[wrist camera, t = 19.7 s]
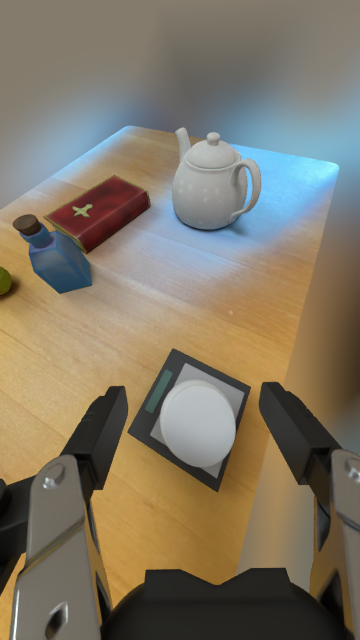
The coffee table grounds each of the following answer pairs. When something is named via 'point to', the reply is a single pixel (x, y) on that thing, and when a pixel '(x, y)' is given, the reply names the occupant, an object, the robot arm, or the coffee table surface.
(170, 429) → the pill bottle
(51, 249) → the perfume bottle
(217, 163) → the teapot
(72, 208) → the hardcover book
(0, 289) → the fruit
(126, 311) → the coffee table surface
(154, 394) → the scale
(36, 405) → the coffee table surface
